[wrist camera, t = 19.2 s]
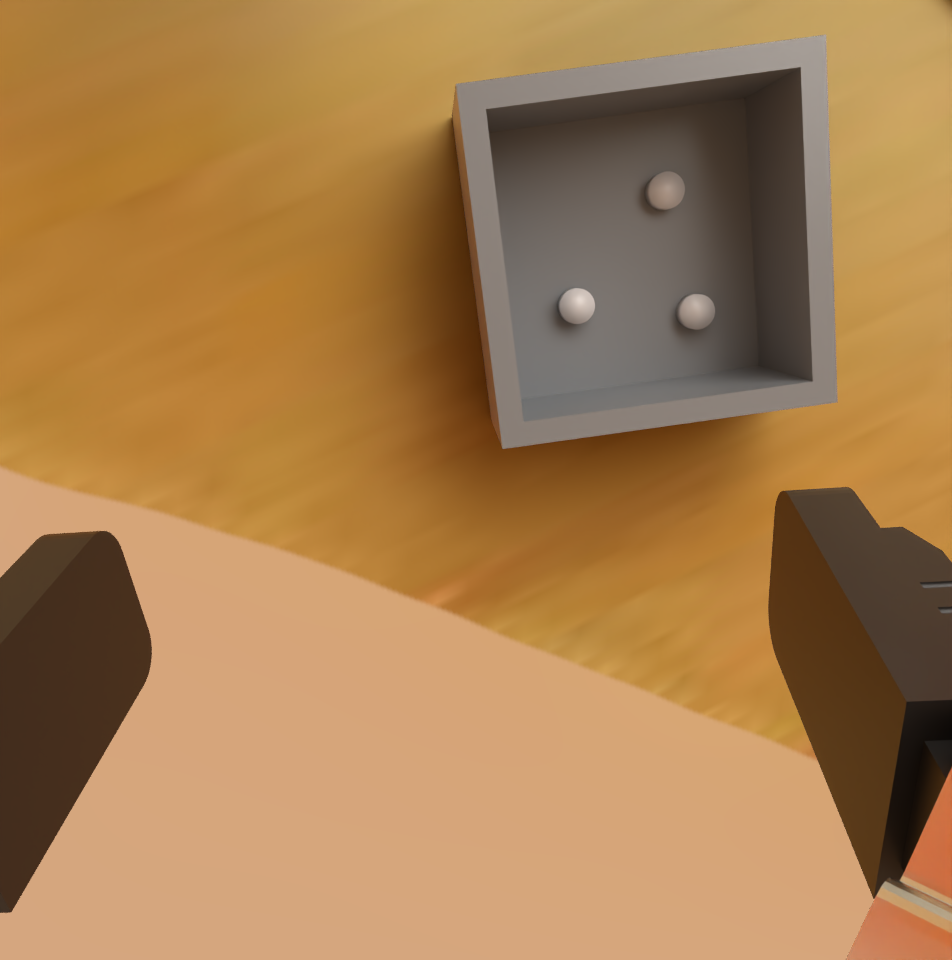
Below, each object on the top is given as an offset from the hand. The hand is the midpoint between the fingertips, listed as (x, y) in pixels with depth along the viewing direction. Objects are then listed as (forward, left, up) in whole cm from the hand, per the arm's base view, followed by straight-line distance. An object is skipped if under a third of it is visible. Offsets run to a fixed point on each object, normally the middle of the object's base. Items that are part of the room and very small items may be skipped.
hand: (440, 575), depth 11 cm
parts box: (-3, +9, -32) cm, 33 cm away
